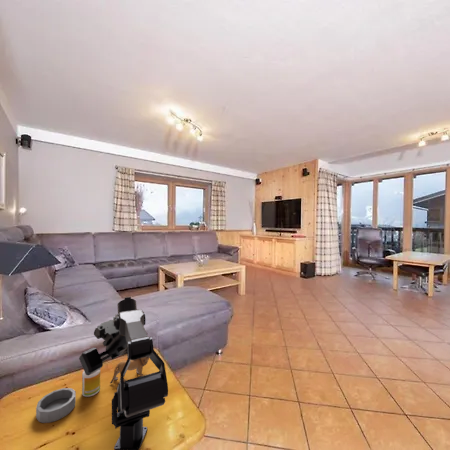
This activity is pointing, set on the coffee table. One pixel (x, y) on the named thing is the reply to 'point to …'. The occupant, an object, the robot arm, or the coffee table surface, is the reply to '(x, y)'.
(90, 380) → the supplement bottle
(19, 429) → the coffee table surface
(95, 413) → the coffee table surface
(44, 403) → the grey faceted bowl
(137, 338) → the robot arm
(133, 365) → the lion figurine
